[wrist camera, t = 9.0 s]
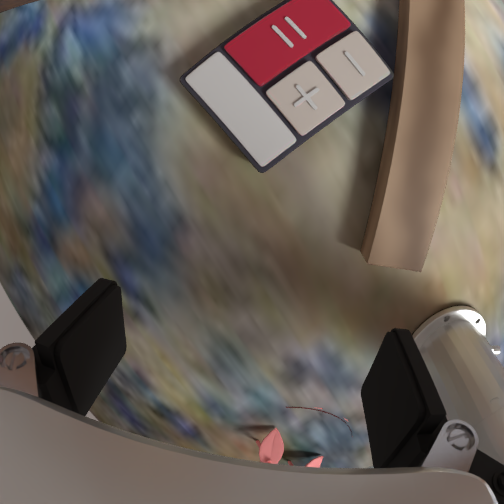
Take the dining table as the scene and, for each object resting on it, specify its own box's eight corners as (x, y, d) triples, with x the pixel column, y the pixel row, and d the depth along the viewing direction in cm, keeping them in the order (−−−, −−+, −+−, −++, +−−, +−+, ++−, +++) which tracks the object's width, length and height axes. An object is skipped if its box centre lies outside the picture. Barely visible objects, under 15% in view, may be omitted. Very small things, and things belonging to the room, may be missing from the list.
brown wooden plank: (449, -18, 18) (462, -26, 16) (410, 259, 31) (421, 271, 28) (399, -38, 18) (409, -49, 16) (360, 251, 31) (367, 263, 28)
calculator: (400, 74, 21) (261, 176, 25) (383, 81, 25) (261, 170, 29) (316, -21, 19) (174, 77, 22) (310, -3, 23) (186, 85, 26)
